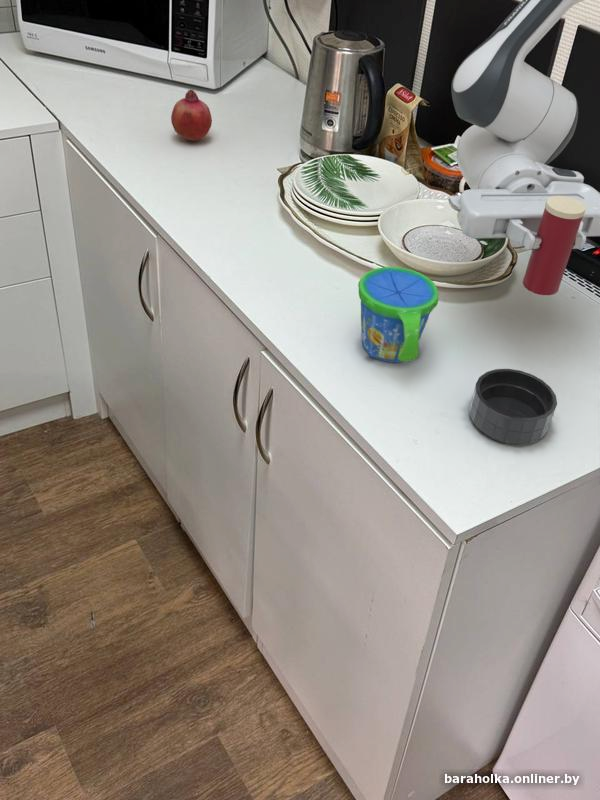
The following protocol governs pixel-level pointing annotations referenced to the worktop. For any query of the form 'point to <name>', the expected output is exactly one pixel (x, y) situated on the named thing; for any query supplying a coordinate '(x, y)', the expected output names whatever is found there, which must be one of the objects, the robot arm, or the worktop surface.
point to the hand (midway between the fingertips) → (557, 244)
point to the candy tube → (554, 244)
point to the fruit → (191, 117)
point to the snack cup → (395, 312)
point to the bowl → (512, 406)
